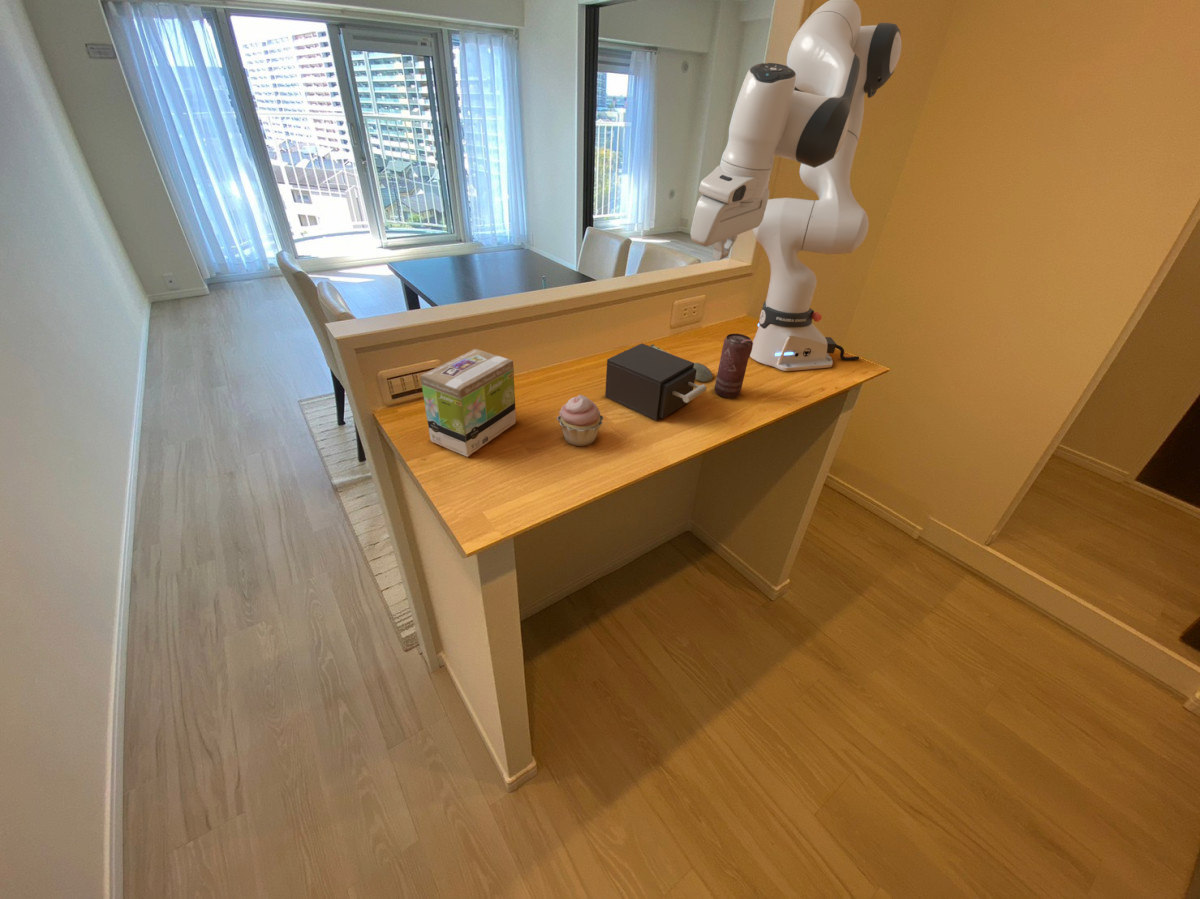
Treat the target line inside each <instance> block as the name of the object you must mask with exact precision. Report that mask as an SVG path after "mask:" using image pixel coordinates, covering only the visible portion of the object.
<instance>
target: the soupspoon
mask: <svg viewBox="0 0 1200 899" xmlns="http://www.w3.org/2000/svg"><path fill="white" fill-rule="evenodd" d="M649 346H650V347H653V348H656V349H658V350H661V351H664V352H666V353H669V354H671V353H670V352H668V351H665V350H663V349H661V348H660V347H657V346H655V344H650V345H649ZM693 363H694V367H693V368H695V369H697V371H696V377H695V381H697V382H702V383H709V382H711V381H712V380H713V377H714V376H713V373H712V371H711V369H710V368H708V366H706V365H705V364H702V363H699V362H693Z"/></svg>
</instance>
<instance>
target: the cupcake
mask: <svg viewBox="0 0 1200 899" xmlns="http://www.w3.org/2000/svg"><path fill="white" fill-rule="evenodd" d="M558 414H559V416H557V417H556V418H555V419H556V421H558V423H559V426H560V427H561V431H562V433H563V437H564V439H565V441H566V442H567V443H568V444H570V445H571V446H576V447H585V446H589V445H591V444H593V443H594V442H595V441H596V439H597V436H598V433H599V429H600V428H601V426H602V424H603V420H604V416H603V415H601V410H600V409H599V407H598V405H597V404H596V403H595V402H594V401H593V400H591V399H590V398H589V397H587V396H586V395H582V394H578V395H577V396H574V397H571V398H569V400H568V401H567V402H566V403H565V404H563V405H562V406H561V408H560V411H558Z"/></svg>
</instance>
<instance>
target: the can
mask: <svg viewBox="0 0 1200 899" xmlns="http://www.w3.org/2000/svg"><path fill="white" fill-rule="evenodd" d="M752 347H753V339H752V338H750V336H748V335H746V334H741V333H729V334H727V335H726V337H725V338H724V340H723V344H722V349H721V354H720V358H719V363H718V368H717V373H716V378H715V383H714V393H715V394H716V395H717V396H718V397H720V398H723V399H727V400H729V399H730V400H731V399H732V400H733V399H737V398H738V397H739V396H740V395H741V393H742V388H743V382H744V379H745V375H746V371H747V367H748V362H749V359H750V354H751V351H752Z"/></svg>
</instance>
